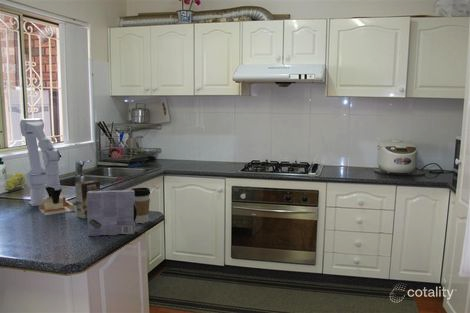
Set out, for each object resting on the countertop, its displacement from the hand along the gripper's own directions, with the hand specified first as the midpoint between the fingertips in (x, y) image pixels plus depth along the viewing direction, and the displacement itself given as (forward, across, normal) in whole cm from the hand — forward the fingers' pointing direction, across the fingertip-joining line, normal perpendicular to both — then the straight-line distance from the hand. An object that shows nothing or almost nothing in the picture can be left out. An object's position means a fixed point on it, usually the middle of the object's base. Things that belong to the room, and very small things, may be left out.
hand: (54, 202), depth 199 cm
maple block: (+2, 0, 0) cm, 2 cm away
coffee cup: (+4, +43, +25) cm, 50 cm away
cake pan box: (+4, +51, +9) cm, 52 cm away
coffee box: (+4, +19, +10) cm, 22 cm away
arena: (+4, 0, +1) cm, 4 cm away
